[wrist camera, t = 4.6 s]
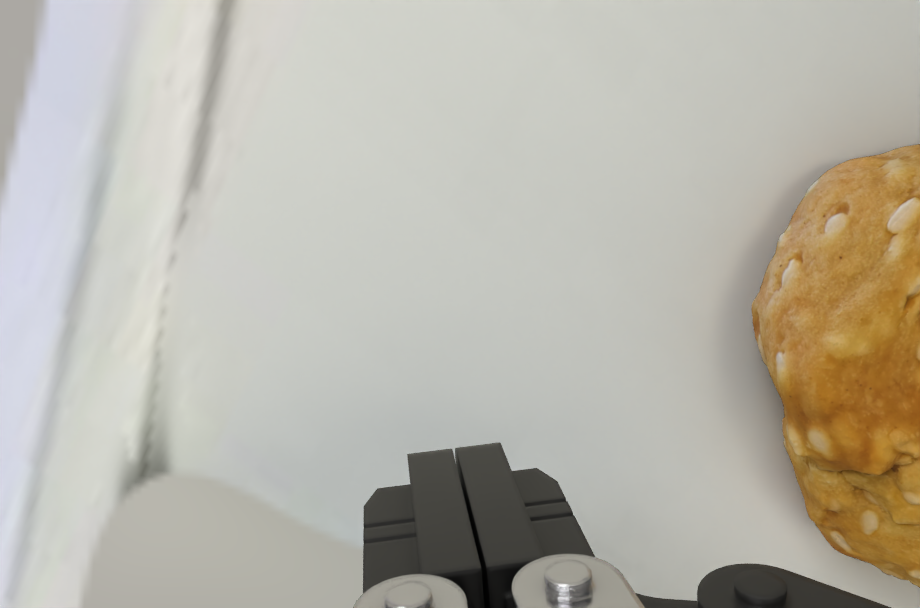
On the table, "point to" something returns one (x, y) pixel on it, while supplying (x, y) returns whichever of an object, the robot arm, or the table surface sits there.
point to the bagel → (852, 355)
